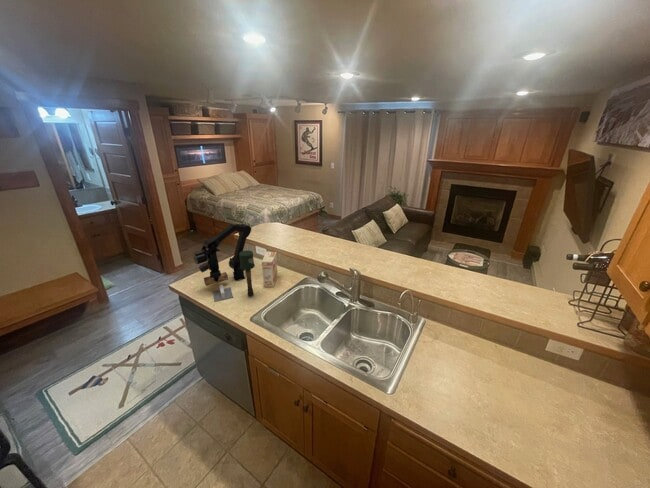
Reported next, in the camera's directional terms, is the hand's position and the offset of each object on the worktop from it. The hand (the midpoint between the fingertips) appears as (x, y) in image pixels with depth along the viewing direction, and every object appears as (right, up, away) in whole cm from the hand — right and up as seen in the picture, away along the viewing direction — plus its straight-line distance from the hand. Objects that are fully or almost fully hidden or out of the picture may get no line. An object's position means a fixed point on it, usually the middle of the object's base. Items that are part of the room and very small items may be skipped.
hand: (216, 279), depth 172 cm
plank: (0, -1, 0) cm, 1 cm away
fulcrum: (+7, -9, -6) cm, 12 cm away
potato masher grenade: (+24, -9, -6) cm, 27 cm away
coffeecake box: (+34, -3, +10) cm, 36 cm away
